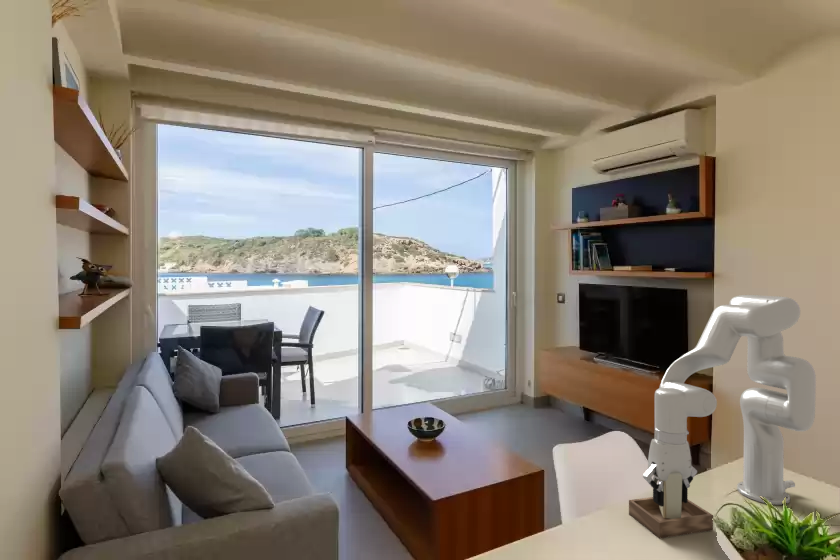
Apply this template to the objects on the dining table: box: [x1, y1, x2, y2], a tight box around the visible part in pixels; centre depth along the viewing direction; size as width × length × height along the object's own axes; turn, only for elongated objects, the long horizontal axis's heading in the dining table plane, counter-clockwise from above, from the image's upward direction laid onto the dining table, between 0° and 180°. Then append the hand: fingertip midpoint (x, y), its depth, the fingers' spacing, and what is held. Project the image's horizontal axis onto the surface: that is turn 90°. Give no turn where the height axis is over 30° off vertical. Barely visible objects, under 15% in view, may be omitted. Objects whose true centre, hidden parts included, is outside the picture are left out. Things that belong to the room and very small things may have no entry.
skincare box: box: [659, 473, 682, 519], centre depth 121 cm, size 6×4×12 cm
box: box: [628, 496, 714, 539], centre depth 121 cm, size 16×12×4 cm
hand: (670, 501), depth 121 cm, fingers closed on skincare box, 6 cm apart
